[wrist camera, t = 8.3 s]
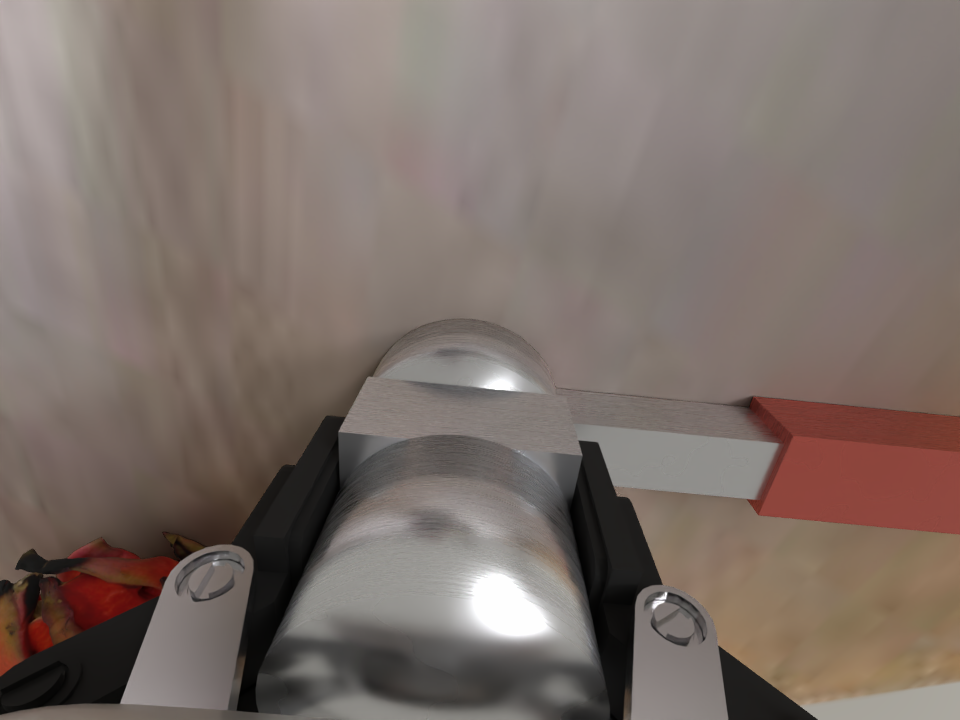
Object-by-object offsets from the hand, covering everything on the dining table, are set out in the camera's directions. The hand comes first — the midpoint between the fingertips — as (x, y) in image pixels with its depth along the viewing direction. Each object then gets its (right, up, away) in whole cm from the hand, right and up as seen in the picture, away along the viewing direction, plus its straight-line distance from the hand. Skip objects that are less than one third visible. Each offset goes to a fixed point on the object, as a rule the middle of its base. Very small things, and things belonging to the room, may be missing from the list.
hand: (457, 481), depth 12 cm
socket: (0, 0, +1) cm, 1 cm away
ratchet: (+9, +1, +4) cm, 9 cm away
